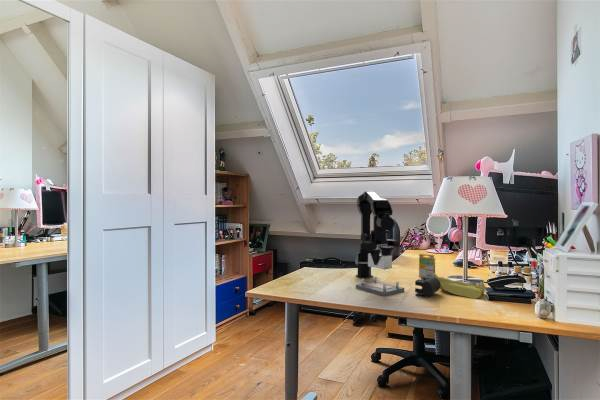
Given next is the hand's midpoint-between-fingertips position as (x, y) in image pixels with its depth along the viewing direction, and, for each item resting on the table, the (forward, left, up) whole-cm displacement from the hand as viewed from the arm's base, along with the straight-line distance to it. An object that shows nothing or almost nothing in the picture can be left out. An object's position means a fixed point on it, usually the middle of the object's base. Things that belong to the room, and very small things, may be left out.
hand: (379, 264), depth 158 cm
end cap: (-10, +17, -11) cm, 23 cm away
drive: (0, 0, -1) cm, 1 cm away
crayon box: (-39, -3, -11) cm, 41 cm away
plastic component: (-24, +22, -11) cm, 35 cm away
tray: (0, 0, -11) cm, 11 cm away
